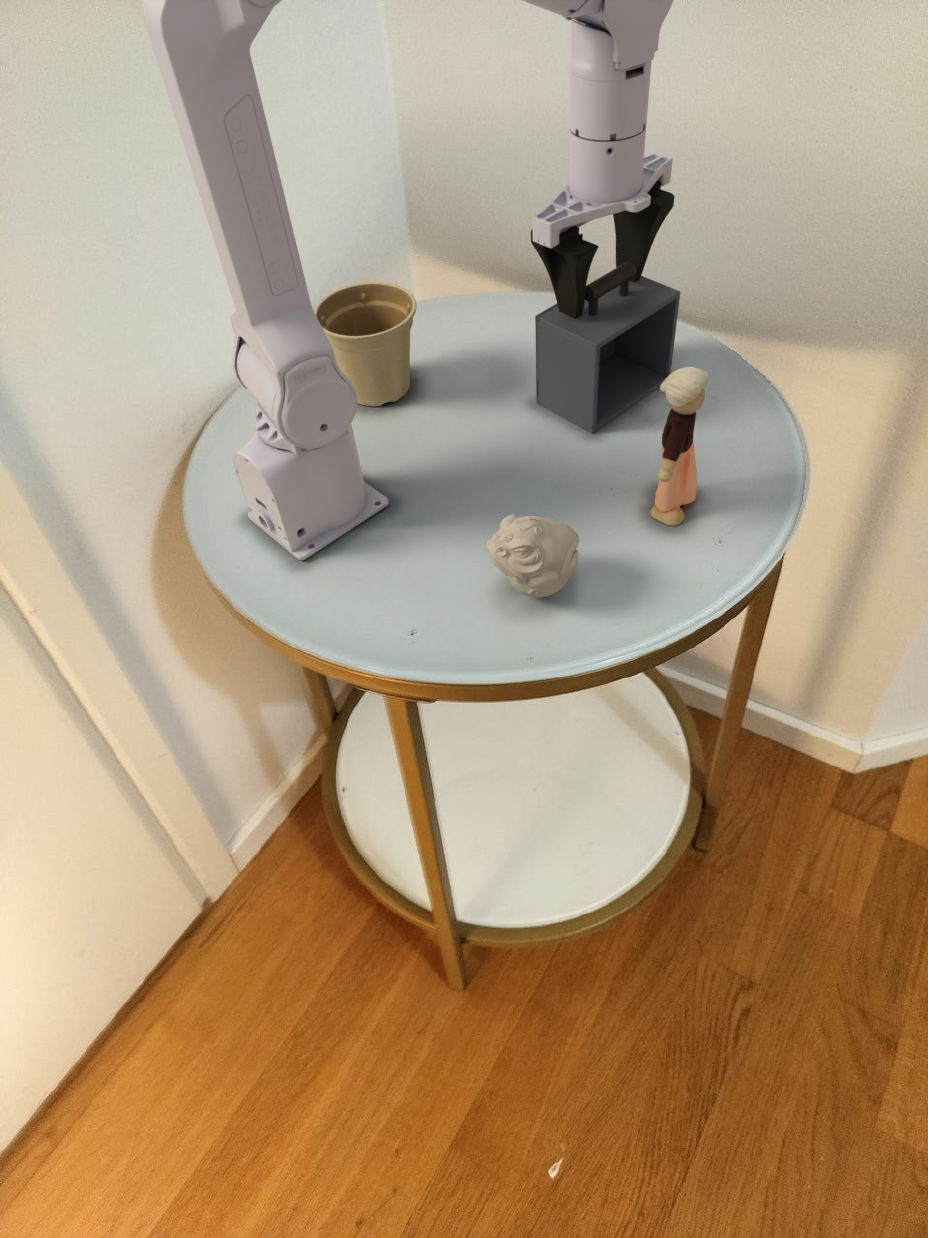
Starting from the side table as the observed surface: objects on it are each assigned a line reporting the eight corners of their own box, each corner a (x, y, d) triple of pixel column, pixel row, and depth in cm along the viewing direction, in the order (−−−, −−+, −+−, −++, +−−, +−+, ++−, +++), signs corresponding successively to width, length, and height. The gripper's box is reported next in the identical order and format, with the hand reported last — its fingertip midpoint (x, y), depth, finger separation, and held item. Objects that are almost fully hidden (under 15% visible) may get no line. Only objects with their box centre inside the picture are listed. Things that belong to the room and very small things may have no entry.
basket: (536, 403, 81) (592, 433, 78) (534, 286, 73) (597, 314, 69) (613, 352, 86) (670, 379, 82) (620, 236, 77) (684, 261, 73)
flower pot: (424, 415, 81) (413, 333, 75) (325, 420, 82) (306, 339, 76) (428, 359, 88) (419, 278, 81) (337, 364, 88) (320, 284, 82)
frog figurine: (478, 575, 67) (471, 509, 62) (559, 548, 69) (560, 480, 63) (508, 630, 64) (504, 564, 58) (594, 600, 65) (598, 532, 60)
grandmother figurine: (695, 535, 68) (719, 401, 59) (646, 533, 69) (661, 399, 60) (694, 472, 73) (716, 339, 64) (648, 470, 74) (663, 338, 64)
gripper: (582, 173, 60) (577, 347, 70) (711, 107, 66) (689, 276, 76) (510, 148, 64) (516, 317, 74) (638, 88, 69) (627, 252, 80)
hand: (599, 295), depth 75 cm, fingers open, 7 cm apart
